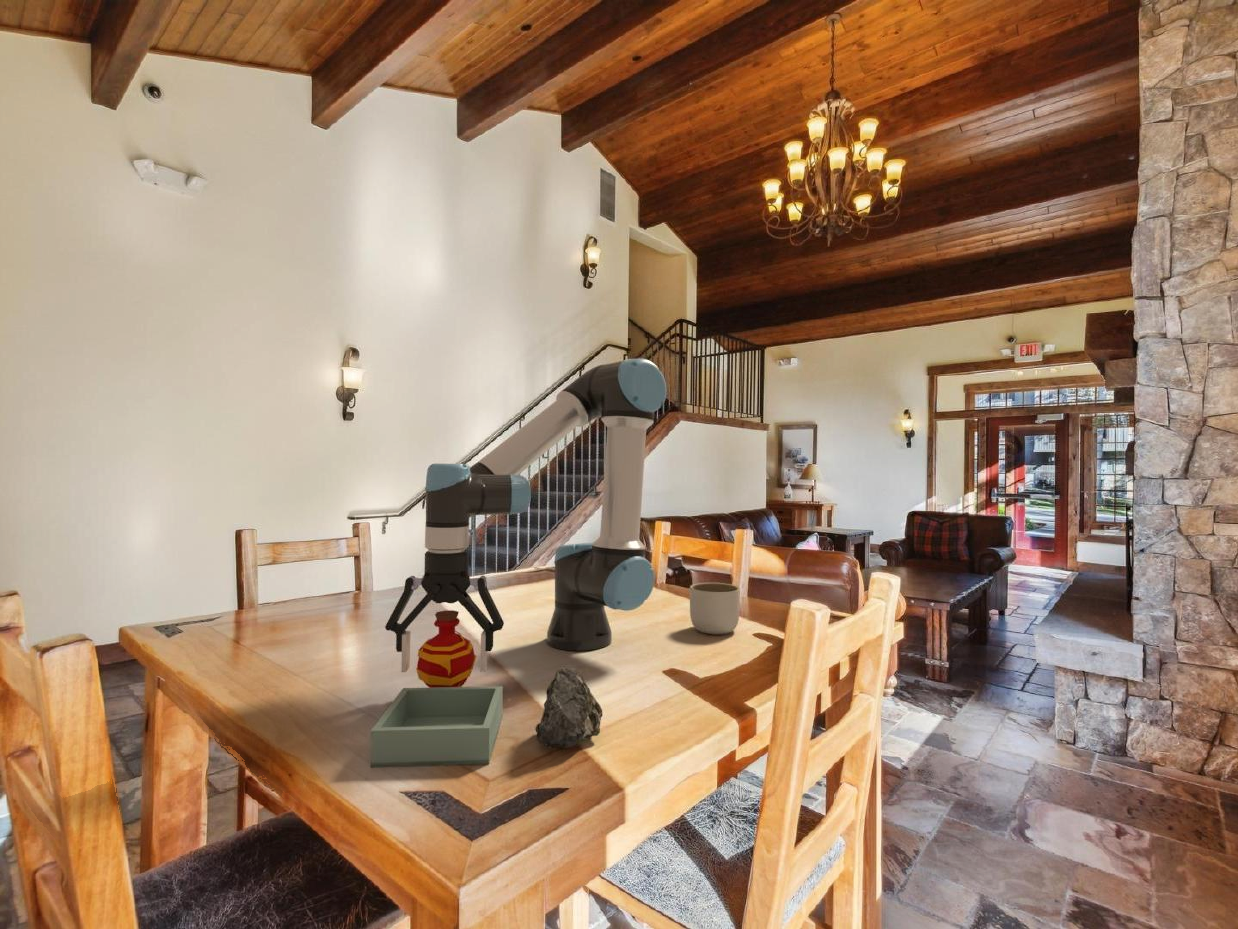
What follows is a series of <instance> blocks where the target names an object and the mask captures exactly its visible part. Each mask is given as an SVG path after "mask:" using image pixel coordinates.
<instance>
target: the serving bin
mask: <svg viewBox="0 0 1238 929" xmlns="http://www.w3.org/2000/svg"><path fill="white" fill-rule="evenodd" d="M503 690H504V687H503V685H494V686H489V685H488V686H461V687H432V688H429V687H403V688H402V689H401V690H400V691H399V693H398V694H397V695H396V697H395V698H394V699H393V701H392V702H391V703H390V705H388V708H386V710H385V712H384V713H383V714H382V715H381V717H380V718H379V719H378V720H377V722H376V723H375V724H374V726H373V727H372V728H371V730H370V766H369V767H370V768H390V767H391V768H394V767H395V768H396V767H431V766H462V765H463V766H465V765H469V766H470V765H489V764H490V761H491V758H492V755H493V751H494V747H495V745H496V740H497V736H498V733H499V731H500V730H499V729H500V727H501V723H502V719H503V711H504V710H503V702H504V700H503V696H504V695H503V692H504V691H503Z"/></svg>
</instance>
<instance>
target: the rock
mask: <svg viewBox="0 0 1238 929" xmlns="http://www.w3.org/2000/svg"><path fill="white" fill-rule="evenodd" d="M590 689H591V688H590V687H589V686H588V684H587V683H586V682H585V679H584V677H583V676H582V675H581V674H580V673H579V671H578V669H577V668H575V667H572V668H567V667H563V666H562V667H559V668H558V669H557V670H556V671H555V674H554V677H553V679H552V681H551V682H550V684H549V686H548V687H547V688H546V691H545V693H546V700H545V701H544V703H543V707H544V708H543V711H542V716H541V719H540V723H537V724H536V726H535V732H536V739H537V743H538V744H543V745H544V746H545V745H546V746H549V747H550V748H551V749H559V748H563V749H565V750H566V749H568V748H571V747H575V746H576V745H577V744H579V743H580V742H582V741H584V740H586V739H589V738H592V737H596V736H598V735H599V734H600V733H601V732H600V731H601V722H602V718H603V709H602V708H601V705H600V703H599V701H597V700H596V697H594V695H593V694H592V692H591V690H590Z"/></svg>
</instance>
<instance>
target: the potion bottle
mask: <svg viewBox="0 0 1238 929" xmlns="http://www.w3.org/2000/svg"><path fill="white" fill-rule="evenodd" d="M459 613H460V612H459V611H458V610H453V609H451V610H450V609H449V610H442V611H436V613H435V614H434V615H435V618H436V620H435V621H434V623H433V624H434V627H436V628H438V633H437V634H436V635H435V636H432V638H428V639H427V640H426V641H425V642H423V644H422V645H421V646H420V647H419V649H418V651H417V652H418V653H417V657H418V660H417V663H416V664H417V665H416V666H417V667H416V673H417V677H418V680H420V681H421V682H423V683H424V684H425V685H426V686H427V688H432V687H463V685H464V684H465V683H466V682H467V680H468V679H469V678H470V677H471V674H472V672H473V669H474V666H475V663H476V660H477V655H476V654H475V650H474V645H473V643H472V641H471V640H469V639H468V638H466V637H464V636H463V635H462V633H461V632H458V631H456V627H457V626H458V625H459V624H460V622H461V621H460V619H459V618H458V616H459Z"/></svg>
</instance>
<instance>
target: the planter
mask: <svg viewBox="0 0 1238 929" xmlns="http://www.w3.org/2000/svg"><path fill="white" fill-rule="evenodd" d="M740 599H741V588H740V587H739V586H738V585H735V584H731V583H723V582H698V583H693V584H691V585H689V614H690V621H691V623H692V625H693V627H694V628H695V629H696V630H697V631H698V632H700V633H703V634H706V635H716V636H717V635H719V636H720V635H726V634H730V633H732V632H733V631H734V630H735V629H736V628H737V625H738V622H739V620H740V609H741V608H740V604H741V602H740V601H741V600H740Z"/></svg>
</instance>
